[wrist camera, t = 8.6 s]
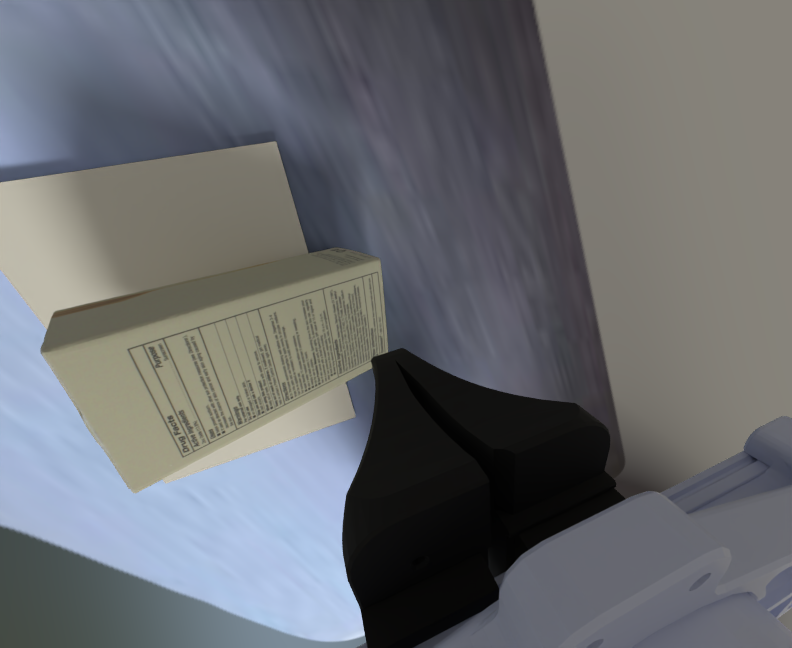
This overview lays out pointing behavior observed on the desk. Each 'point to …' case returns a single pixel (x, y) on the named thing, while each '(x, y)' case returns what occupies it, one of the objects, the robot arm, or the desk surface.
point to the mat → (158, 246)
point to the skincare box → (215, 355)
